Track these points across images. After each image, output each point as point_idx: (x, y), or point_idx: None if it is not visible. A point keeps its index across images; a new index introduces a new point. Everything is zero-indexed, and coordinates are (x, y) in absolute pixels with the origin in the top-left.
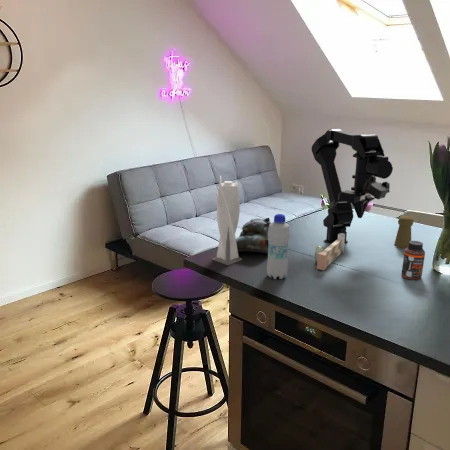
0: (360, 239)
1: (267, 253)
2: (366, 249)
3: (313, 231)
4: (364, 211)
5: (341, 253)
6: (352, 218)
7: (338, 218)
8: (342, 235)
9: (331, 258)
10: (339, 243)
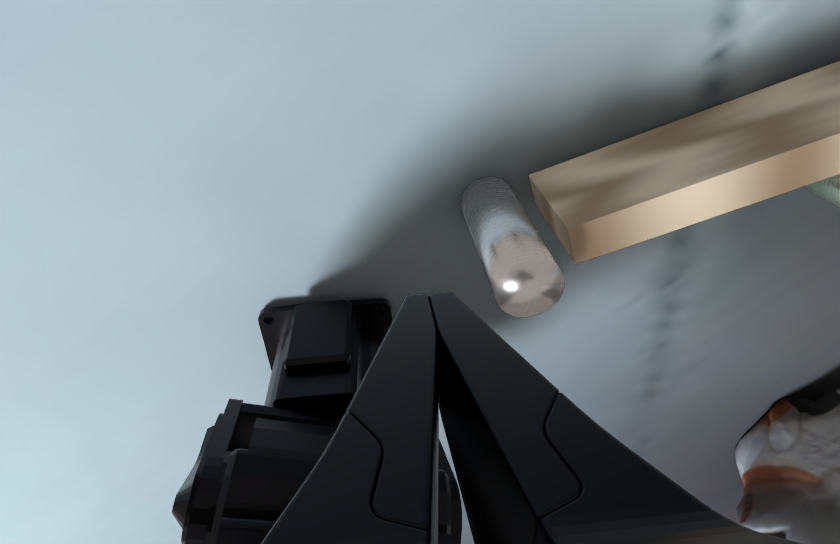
0: (111, 305)
1: (799, 398)
2: (235, 134)
3: None
4: (379, 363)
5: (502, 182)
6: (215, 453)
7: (440, 481)
8: (552, 262)
9: (766, 104)
10: (618, 201)
